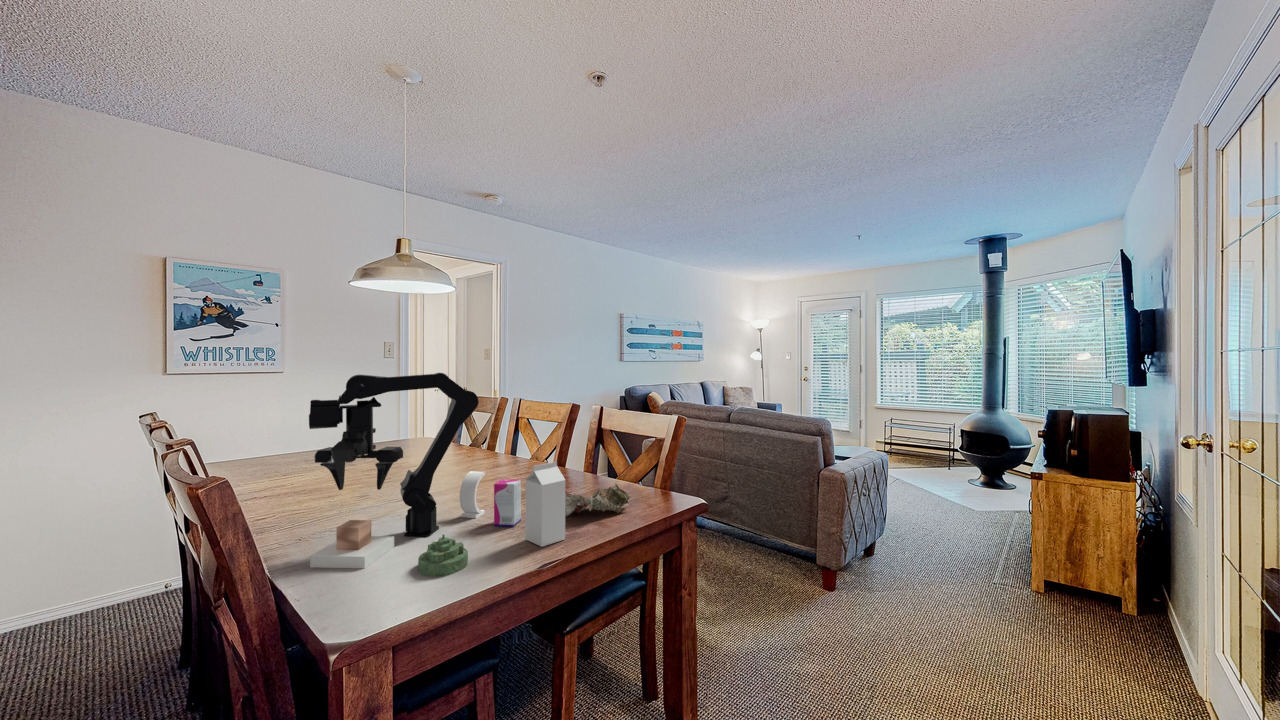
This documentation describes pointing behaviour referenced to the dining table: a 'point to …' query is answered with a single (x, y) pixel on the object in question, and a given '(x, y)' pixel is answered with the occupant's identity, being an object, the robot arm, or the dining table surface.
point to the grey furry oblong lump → (597, 500)
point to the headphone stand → (470, 494)
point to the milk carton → (545, 505)
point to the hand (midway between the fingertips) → (360, 489)
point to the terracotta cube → (353, 535)
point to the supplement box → (507, 503)
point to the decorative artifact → (443, 558)
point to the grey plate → (352, 554)
